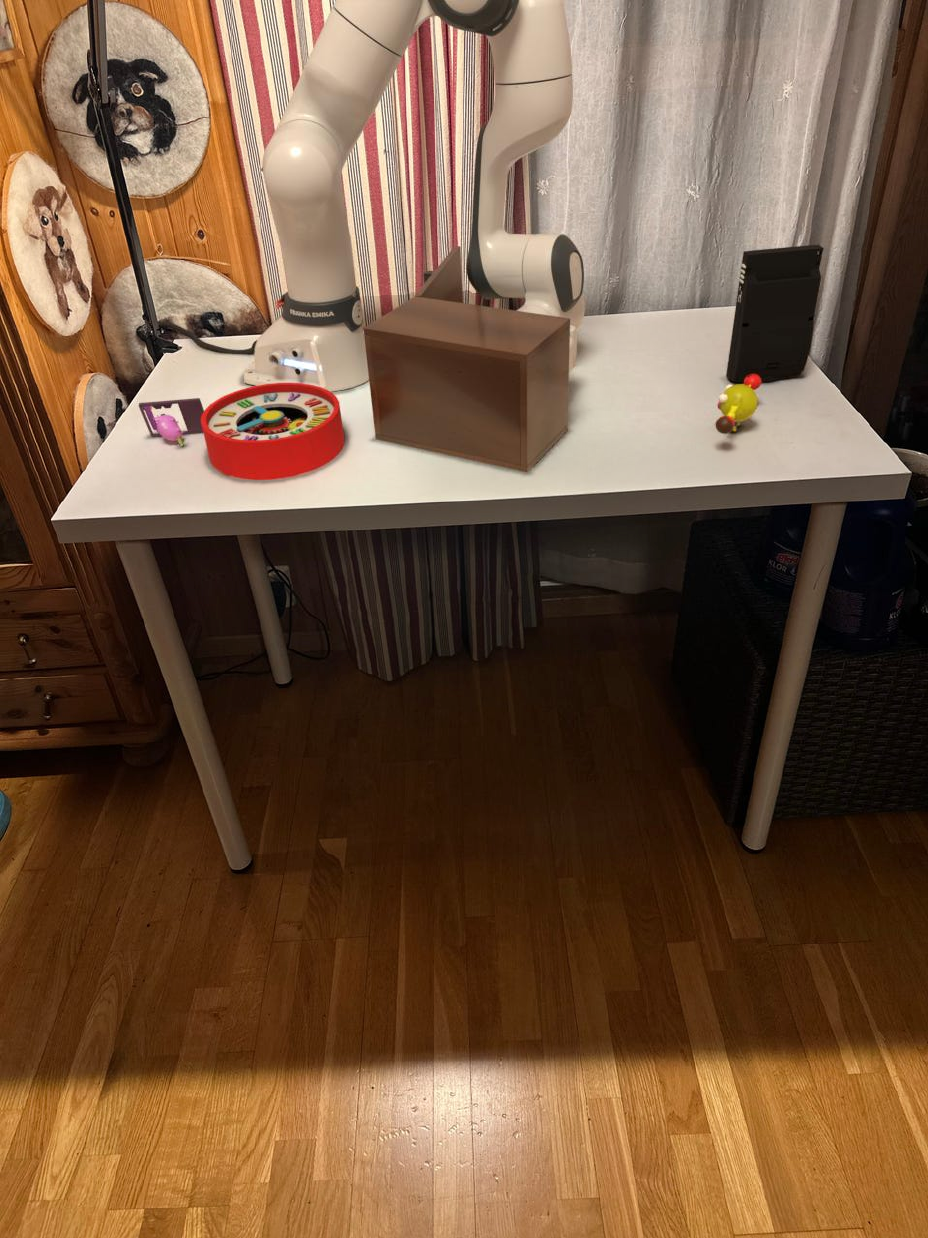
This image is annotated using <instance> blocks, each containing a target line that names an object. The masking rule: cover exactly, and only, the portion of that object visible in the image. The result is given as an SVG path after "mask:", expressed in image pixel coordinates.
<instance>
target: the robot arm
mask: <svg viewBox="0 0 928 1238" xmlns="http://www.w3.org/2000/svg"><path fill="white" fill-rule="evenodd" d="M566 16H567V15H566V12H565V7H564V3H563V0H335V1H334V2H333V6H332V7H331V9H330V11H329V14H328V16H327V18H326V20H325V22H324V24H323V26H322V29H321V30H320V32H319V35H318V37H317V40H316V41H315V44H314V46H313V48H312V50H311V52H310V54H309V56H308V59H307V61H306V63H305V65H304V67H303V70H302V72H301V75H300V76H299V79H298V81H297V83H296V85H295V87H294V90H293V92H292V95H291V96H290V98H289V101H288V102H287V105H286V107H285V109H284V111H283V114H282V115H281V118H280V120H279V122H278V124H277V127H276V128H275V130H274V132H273V134H272V137H271V138H270V140H269V142H268V144H267V146H266V147H265V149H264V152H263V156H262V172H263V173H262V175H263V179H264V183H265V189H266V193H267V194H266V195H267V198H268V203H269V206H270V210H271V211H270V212H271V215H272V219H273V223H274V226H275V230H276V234H277V237H278V242H279V247H280V251H281V257H282V258H281V259H282V264H283V265H282V266H283V270H284V271H283V272H284V276H285V282H286V283H285V284H286V288H287V289H286V290H287V291H286V292H284V293H283V294H282V295H280V297H279V299H278V300H276V301H275V302H274V304H275V309H276V310H278V309H280V308H281V310H282V311H281V315H280V316H279V317H278V318H277V319H276V320H275V321H274V322H273V323H272V324H271V325H270V326H269V327H268V328H267V329H266V330H265V331H263V333H262V334H260V336H259V337H258V338H257V339H256V340H254V341H253V342H252V344H251V347H249V348H245V349H231V348H226V347H222V346H218V345H215V344H211V343H207V342H206V341H203V340H202V339H201V338H199V337H198V336H197V334H195V333H194V332H193V331H191V330H189V329H186V328H184V327H182V326H180V325H178V324H175V323H173V322H170V321H165V320H164V321H160V322H159V323H160V326H158V327H159V330H158V331H160V330H161V329H162V328H165V327H167V328H171V329H173V330H175V331H177V332H179V333H181V334H183V335H185V336H187V337H190V338H191V339H192V340H193V341H194V342H195V343H196V344H197V345H198V346H199V347H202V348H204V349H208V350H211V351H215V352H218V353H222V354H231V355H252V354H254V358H253V359H254V361H253V362H252V363H250V364H249V365H248V366H247V368H246V369H245V371H244V372H243V381H244V384H247V385H252V386H258V385H264V384H273V383H302V384H309V385H314V386H318V387H321V388H324V389H326V390H328V391H330V392H331V393H333V392H338V391H345V390H348V389H352V388H355V387H358V386H360V385H363V384H365V383H367V382H369V375H368V366H367V357H366V348H365V339H364V330H363V328H364V327H363V322H364V321H363V318H364V317H363V306H362V300H361V293H360V288H359V287H358V286H357V280H356V273H355V264H354V254H353V245H352V238H351V237H352V236H351V233H350V228H349V222H348V217H347V215H348V214H347V210H346V203H345V197H344V190H343V180H342V172H343V169H344V167H345V164H346V162H347V160H348V158H349V157H350V155H351V153H352V151H353V150H354V147H355V145H356V144H357V142H358V140H359V138H360V137H361V135H362V133H363V132H364V130H365V128H366V126H367V125H368V123H369V121H370V119H371V117H372V116H373V114H374V113H375V111H376V109H377V107H378V105H379V103H380V102H381V100H382V98H383V95H384V94H385V91H386V89H388V86H389V84H390V82H391V80H392V78H393V76H394V75H395V73H396V70H397V68H398V66H399V64H400V62H401V61H402V59H403V57H404V55H405V53H406V52H407V49H408V46H409V45H410V43H411V42H412V39H413V37H414V35H415V34H416V32H417V31H418V29H419V27H420V26H421V25H422V24H423V23H424V22H425V21H427V20H428V19H430V18H433V17H438V18H439V19H440V20H441V21H442V22H444V24H446V25H448V26H450V27H452V28H454V29H457V30H459V31H464V32H468V33H474V34H479V35H483V36H485V37H486V38H487V41H488V43H489V46H490V50H491V54H492V55H491V56H492V64H493V78H494V101H493V107H492V111H491V115H490V117H489V120H488V121H486V122H485V123H484V124H483V125H482V126H481V128H480V130H479V132H478V136H477V142H476V147H475V161H474V172H473V173H474V175H473V195H472V211H471V212H472V213H471V214H472V217H471V231H470V240H469V245H468V251H467V257H466V276H467V279H468V282H469V284H470V285H471V287H472V288H473V289H474V290H475V292H477V294H478V295H480V296H481V298H483V299H485V300H501V299H525V301H524V304H523V305H522V306H520V308H518V309H516V311H521V312H529V313H536V314H543V315H550V316H557V317H564V318H570V348H569V374H570V373H571V372H572V370H573V368H574V367H575V366H576V361H577V352H578V337H577V336H578V335H577V334H578V333H577V331H578V329H579V327H580V326H581V324H582V321H583V319H584V316H585V314H586V313H585V312H586V302H585V298H584V295H583V291H584V283H585V267H584V261H583V257H582V254H581V252H580V251H579V249H578V247H577V246H576V244H575V243H574V242H573V240H572V239H571V238H570V237H569V236H567V235H566V234H563V233H562V234H558V233H535V234H534V233H533V234H531V233H530V234H529V233H527V234H525V233H508V232H507V231H506V229H505V227H504V226H505V225H504V219H505V218H504V217H505V207H506V205H505V204H506V191H507V190H506V189H507V179H508V176H509V172H510V171H511V170H510V169H511V168H512V167H513V165H514V164H515V163H516V162H517V161H518V160H520V159H522V158H523V157H525V156H528V155H529V154H531V153H533V152H535V151H537V150H539V149H542V148H543V147H545V146H546V145H548V144H550V143H551V142H552V141H553V140H554V139H556V138H557V137H559V135H560V134H561V133H562V132H563V130H564V129H565V127H566V125H568V122H569V120H570V118H571V115H572V111H573V110H572V109H573V101H574V82H573V81H574V80H573V61H572V52H571V51H572V50H571V42H570V34H569V28H568V22H567V21H568V20H567V17H566Z"/></svg>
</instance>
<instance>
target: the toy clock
mask: <svg viewBox="0 0 928 1238" xmlns="http://www.w3.org/2000/svg"><path fill="white" fill-rule="evenodd" d="M201 424H202V429H203V433H202V434H203V437H204V441H205V445H206V449H207V454H208V458H209V463H210V464H211V466H212V467H213V468H214V469H215V470H216V471H218V472H219V473H221V474H222V475H225V476H228V477H232V478H237V479H240V480H241V479H243V480H249V481H250V480H251V481H272V480H281V479H282V480H283V479H287V478H293V477H296V476H300V475H304V474H306V473H310V472H312V471H315V470H317V469H319V468H322V467H323V466H325V465H327V464H328V463H331V461H333V460H334V459H335V458H336V457H337V456H339V455H340V453H341V452H342V450H343V448H344V446H345V433H344V428H343V421H342V413H341V404H340V401H339V399H338V397H337V396H336V395H335V394H334V393H333V392H330V391H328V390H326V389H324V388H321V387H318V386H314V385H309V384H302V383H273V384H264V385H258V386H255V385H252V386H249V387H245V388H242V389H239V390H235V391H233V392H230V393H228V394H225V395H223V396H221V397H219V398H218V399H216V400H215V401H213V402H212V403H210V404H209V405H208V406H207V407H206V408H205V409H204V412H203V414H202V417H201Z"/></svg>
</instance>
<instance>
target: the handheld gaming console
mask: <svg viewBox="0 0 928 1238" xmlns="http://www.w3.org/2000/svg"><path fill="white" fill-rule="evenodd" d="M823 252H824V247H823V246H821V245H820V244H809V245H799V246H797V245H795V246H787V247H774V248H763V249H754V250H753V249H752V250H745V251H743V253H742V260H741V267H740V273H739V280H738V288H737V296H736V302H735V309H734V316H733V323H732V331H731V337H730V345H729V351H728V358H727V359H728V360H727V366H726V373H725V377H726V378H727V379H728V380H729V381H731V382H734V383H739V384H744V380H745V377H746V376H747V375H749V374H757V375H759V376H760V377H761V380H762V382H761V383H771V382H775V381H778V380H779V381H780V380H788V379H791V378H794V377H797V376H800V375H801V374H802V373H803V372H804V371H805V369H806V365H807V363H808V360H809V355H810V352H811V347H812V342H813V334H814V324H815V320H814V318H815V317H816V315H815V313H816V308H817V303H818V299H819V298H818V296H819V292H820V287H821V281H822V274H821V270H820V267H821V263H822V257H823Z"/></svg>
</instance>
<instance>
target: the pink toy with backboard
mask: <svg viewBox="0 0 928 1238" xmlns="http://www.w3.org/2000/svg"><path fill="white" fill-rule="evenodd" d="M173 405H178V408H179V411H180V413H181V416H182V419H183V422H184V425H185V428H186V430H184V431H183V430H182V429H181V428H180V426H179V424H178V423H179V421H178V420H176V418H175V417H174V416H172V415H170V414H165V413H161V414H160V415H158V414H157V415H156V416H154V413H153V411H152V410H153V409H155V410H161V409H162V408H164V409H172V406H173ZM138 408H139V411H140V413H141V416H142V417H143V420H144V423H145V426H146V428H147V430H148V432H149V435H150V437H151V438H157V437H163V438H164V439H166V440H167V441H177V442H178V444H179V445H180V447H183V446H184V443H183V440H182V439H181V438H182V435H191V434H204V433H203V429H202V424H201V417H202V414H203V412H204V411H205V409H204V406H203V403H202V401H201V398H199V397H195V398H194V397H193V398H184V399H183V398H181V399H172V400H171V399H170V400H159V401H148V402H138ZM153 431H155V432H156V433H154V432H153Z"/></svg>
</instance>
